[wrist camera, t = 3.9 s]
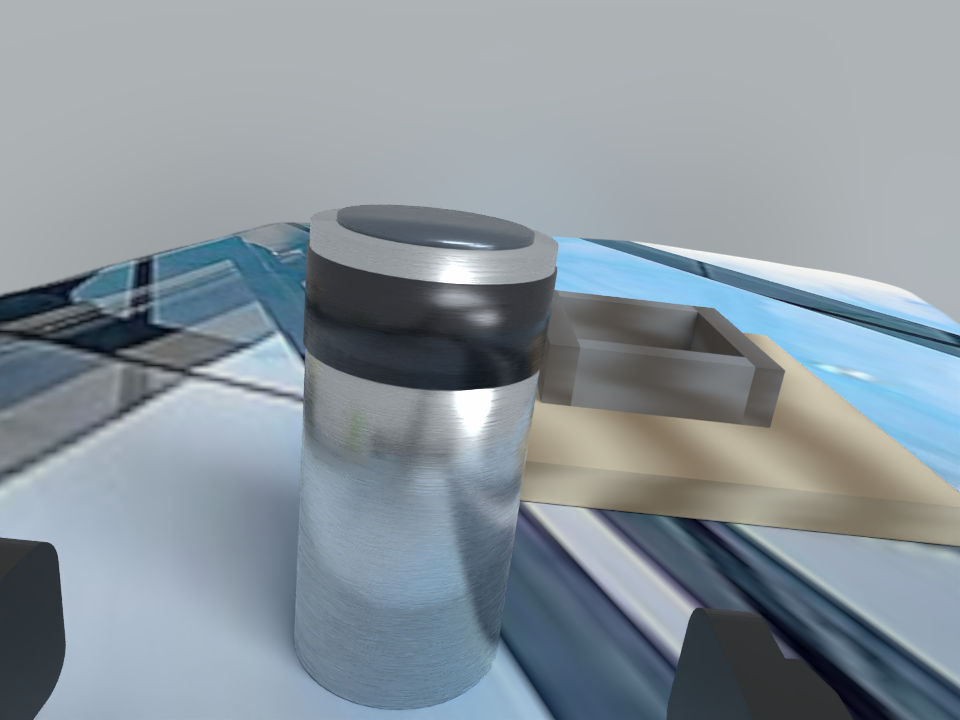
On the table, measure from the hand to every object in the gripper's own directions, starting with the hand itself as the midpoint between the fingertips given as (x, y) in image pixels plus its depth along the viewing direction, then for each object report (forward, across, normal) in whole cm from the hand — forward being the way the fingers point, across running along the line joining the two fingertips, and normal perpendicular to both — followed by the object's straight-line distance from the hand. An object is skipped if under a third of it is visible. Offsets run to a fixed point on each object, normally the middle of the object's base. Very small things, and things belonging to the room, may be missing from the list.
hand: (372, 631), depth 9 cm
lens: (+7, 0, +6) cm, 9 cm away
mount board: (+24, -9, +6) cm, 27 cm away
